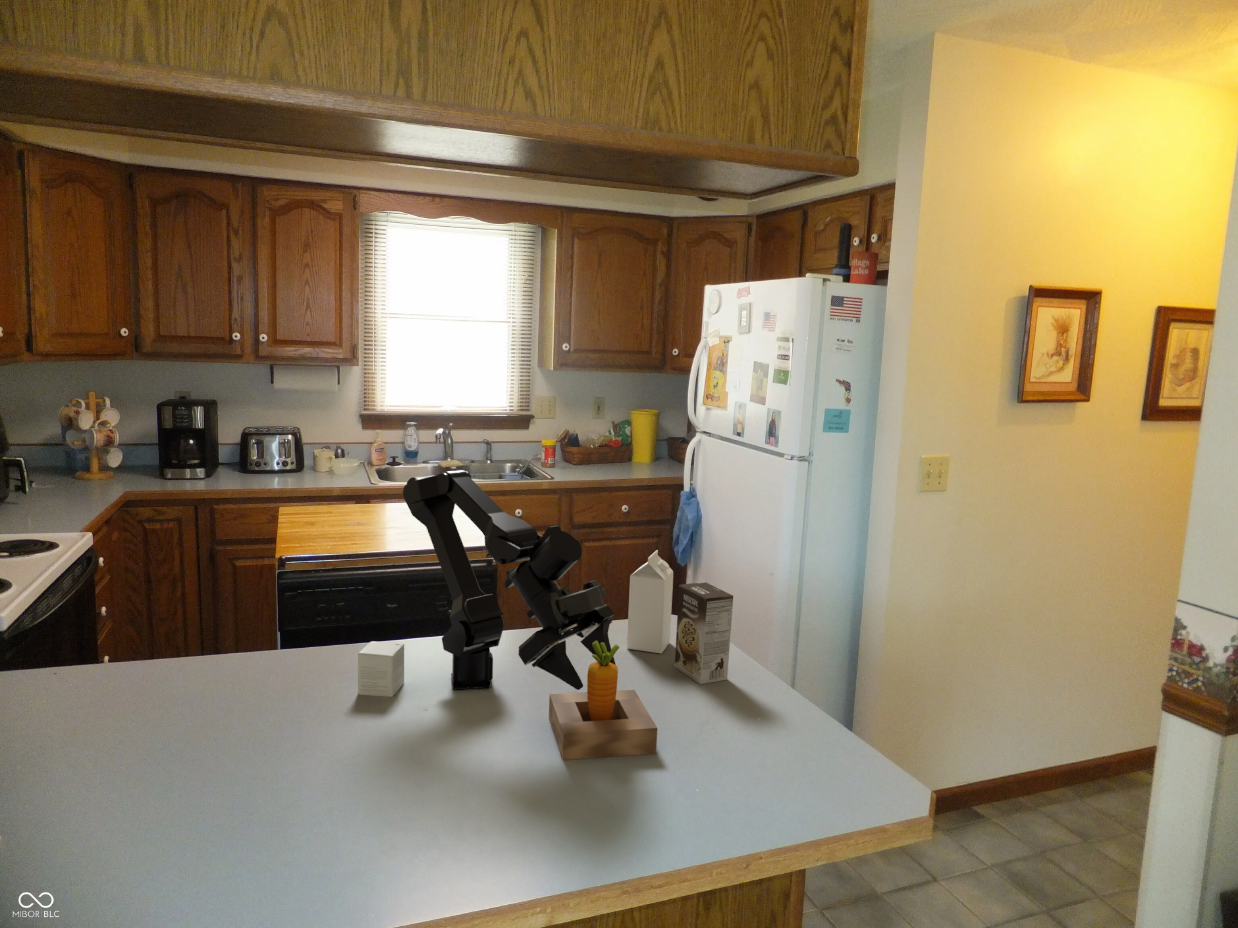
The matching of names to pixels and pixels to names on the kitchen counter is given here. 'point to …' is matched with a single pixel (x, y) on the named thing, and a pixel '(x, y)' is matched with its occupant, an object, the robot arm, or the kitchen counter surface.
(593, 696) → the carrot
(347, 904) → the kitchen counter surface
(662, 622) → the milk carton
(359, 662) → the product box
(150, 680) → the kitchen counter surface
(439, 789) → the kitchen counter surface
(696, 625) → the coffee box
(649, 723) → the walnut socket block
